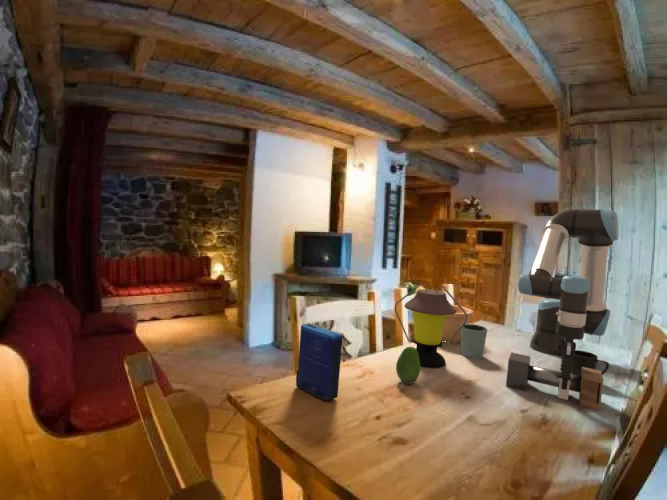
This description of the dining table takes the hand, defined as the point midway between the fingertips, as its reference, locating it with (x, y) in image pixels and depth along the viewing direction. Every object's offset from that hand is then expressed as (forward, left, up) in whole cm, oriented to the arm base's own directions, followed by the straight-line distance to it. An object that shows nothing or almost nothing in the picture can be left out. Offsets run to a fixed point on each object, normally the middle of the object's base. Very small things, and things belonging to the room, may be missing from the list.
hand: (562, 394), depth 124 cm
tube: (0, -3, +2) cm, 4 cm away
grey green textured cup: (-21, -32, -1) cm, 39 cm away
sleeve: (0, -13, 0) cm, 13 cm away
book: (+49, -63, -1) cm, 80 cm away
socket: (0, +7, 0) cm, 7 cm away
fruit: (+23, -44, -1) cm, 50 cm away
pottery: (-39, -47, -1) cm, 61 cm away
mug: (-21, +8, -1) cm, 22 cm away
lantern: (-1, -45, -1) cm, 45 cm away
